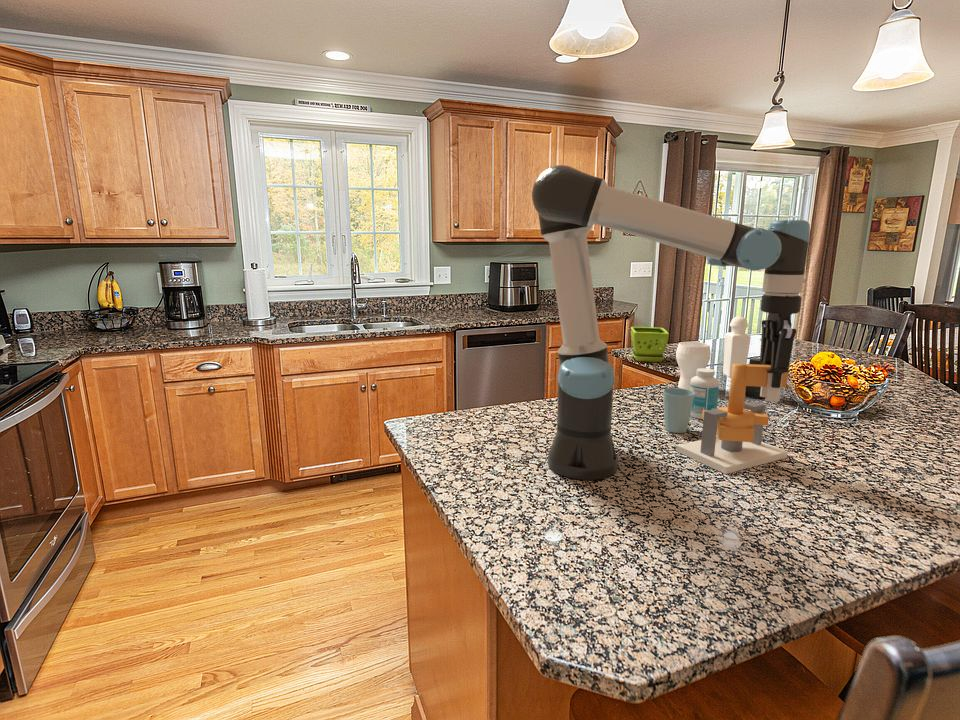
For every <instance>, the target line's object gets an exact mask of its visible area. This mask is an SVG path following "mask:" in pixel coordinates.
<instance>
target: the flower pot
mask: <svg viewBox="0 0 960 720" xmlns="http://www.w3.org/2000/svg"><path fill="white" fill-rule="evenodd" d="M669 337H670V333H669V332H668V331H667V330H666V329H665V328H664V327H654V326H653V327H652V326H631V327H630V340H631V345H632V348H633V350H631V354H632V356H633V358H634V360H635V361H637V362H651V363H653V362H654V363H661V362H662V361H664V360H665V356H664V355H663V354H664V352H665V350H666V348H667V345H668V343H669V342H668V341H669Z"/></svg>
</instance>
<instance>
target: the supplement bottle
mask: <svg viewBox="0 0 960 720" xmlns="http://www.w3.org/2000/svg"><path fill="white" fill-rule="evenodd" d="M748 364H757V365H762V364H763V363H760V357H759V358H758V357H750V358H749V362H748ZM760 391H761V387H757V386H746V391H745V397H747V398H751V399H765V397H761V396H760Z"/></svg>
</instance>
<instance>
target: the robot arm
mask: <svg viewBox="0 0 960 720" xmlns="http://www.w3.org/2000/svg"><path fill="white" fill-rule="evenodd" d="M531 199H532V205H533V207H534V209H535V211H536V212H537V214H538V221H539V228H540V236H541V238H543V239H544V240H545V241H546V242H548V245H549V253H550V260H551V266H552V275H553V280H554V288H555V294H556V295H555V296H556V302H557V309H558V316H559V324H560V331H561V339H562V345H560V347H559V348H558V350H557V355H558V364H559V369H558V374H557V384H558V385H557V386H558V387H557V412H556V413H557V416H556V419H557V420H556V433H555V436H554V438H553V441H552V444H551V447H550V450H549V451H548V455H547V465H548V468H549V469H550V470H551V471H553V472H554V473H556V474H558V475H560V476H563V477H566V478H569V479H574V480H583V481H594V480H602V479H607V478H609V477H611V476H613V475H615V474H616V473H617V472H618V471H617V470H618V456H617V452H616V449H615V445H614V442H613V438H612V420H613V419H612V416H613V402H614V401H613V400H614V399H613V397H614V385H615V375H614V374H615V372H614V368H613V366H612V364H610V358H609V351H608V345H607V343H606V342H604V341H603V340H601V338H600V332H599V325H598V323H599V322H598V316H597V308H596V301H595V293H594V292H595V291H594V284H593V276H592V269H591V267H592V266H591V260H590V252H589V244H588V234H589V233H590V232H591V230H592V229H593V226H594V225H598V226H600V227H604V228H608V229H610V230H614V231H618V232H621V233H624V234H628V235H632V236H634V237H635V236H636V237H638V238H642V239H645V240H649V241H652V242H656V243H659V244H662V245H665V246H670V247H672V248H676V249H679V250H681V251H682V250H683V251H687V252H690V253H694V254H696V255H700V256H703V257H706V261H707V263H708V264H709V265H710V266H713V267H714V266H717V267H737V268H742V269H743V268H744V269H746V270H750V271H753V272H754V271H760V270H761V271H762V270H764V273H763V280H762V281H763V283H762V290H761V291H762V292H763V293H764V294H762V295H761V301H760V302H761V303H760V311H761V312H763V313H766V314H768V315H767V318H766V320H764V319H763V320H762V321H761V338H760V341H761V343H760V352H759V353H760V354H759V358H760V363H763V364H762V365H771V370H767V373H768V379H767V387H761V391H760V396H761V397H765V398H764V401H765V402H777V403H778V402H779V403H780V399H781V390H782V388H781V384H782V376H783V373H784V372H786V373H787V372H788V373H789V369H790V362H791V356H792V350H793V345H794V340H795V337H796V334H797V329H796V328H792V319H791V318H792V317H791V316H792V315H795V314H796V315H797V314H799V313H800V312H801V305H802V301H803V300H802V296H801V295H800V294H802V293H803V287H804V284H805V283H806V281H807V280H806V278H805V274H806V266H807V265H806V264H807V257H808V252H809V251H808V250H809V245H810V235H811V234H810V233H811V232H810V231H811V230H810V229H811V225H810V222H809V221H807V220H804V219H785V220H784V219H783V220H772V221H771V222H770V223H769V227H768V229H767V228H762V227H758V228H756V227H752V226H748V225H745V224H741V223H737V222H735V221H731V220H728V219H724V218H720V217H719V216H718V217H717V216H713V215H710V214H706V213H704V212H699V211H696V210H693V209H689V208H685V207H682V206H679V205H675V204H672V203H668V202H665V201H661V200H659V199H655V198H650V197H647V196H644V195H641V194H637V193H634V192H633V193H632V192H630V191H625V190H624V189H620V188H616V187H612V186H610V185H608V183H607V181H606V179H604V178H601V177H597V176H594V175H591V174H589V173H586V172H583V171H581V170H579V169H577V168H574V167H572V166H568V165H565V164H564V165H563V164H561V165H559V164H558V165H553V166H551V167H548V168H546V169H545V170H544V171H542V172H541V173H540V174H539V175H538V177H536V179H535V181H534V184H533V185H532V191H531Z"/></svg>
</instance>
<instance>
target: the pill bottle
mask: <svg viewBox="0 0 960 720" xmlns="http://www.w3.org/2000/svg"><path fill="white" fill-rule="evenodd" d="M696 374H697V376H695V377H693V378H692V379H691V382H690V391H693V392H694V393H695V394H694V399H693V404H692V409H691V413H690V417H692V418H694V419H699V420H703V419H702V412H703V410H713V409H718V398H719V389H720V381H719V380H718V379H717V378H716V377H714V376H715V374H716V372H715V369H712V368H707V367H706V368H699V369H697V372H696Z"/></svg>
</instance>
